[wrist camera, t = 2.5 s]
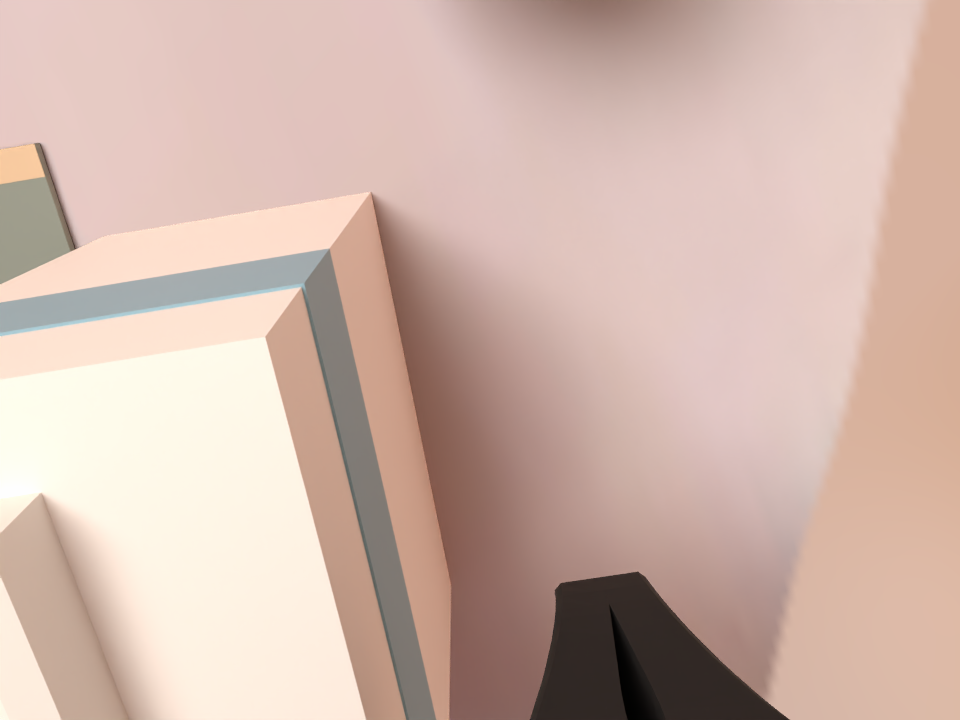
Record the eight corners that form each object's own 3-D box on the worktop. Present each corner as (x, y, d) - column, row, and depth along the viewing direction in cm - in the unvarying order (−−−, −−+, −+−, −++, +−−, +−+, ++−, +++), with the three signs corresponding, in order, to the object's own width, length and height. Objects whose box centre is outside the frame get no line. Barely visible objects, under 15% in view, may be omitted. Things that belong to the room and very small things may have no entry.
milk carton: (453, 586, 25) (447, 1106, 12) (225, 620, 25) (-7, 1167, 13) (372, 189, 21) (241, 368, 8) (101, 234, 21) (-423, 474, 8)
